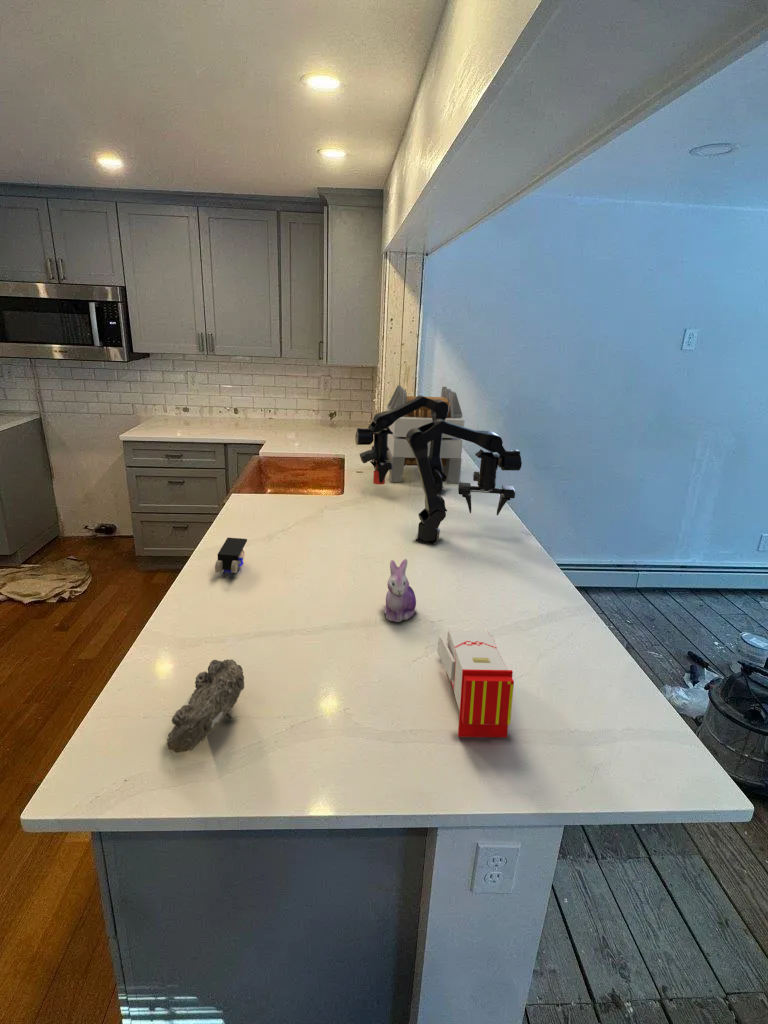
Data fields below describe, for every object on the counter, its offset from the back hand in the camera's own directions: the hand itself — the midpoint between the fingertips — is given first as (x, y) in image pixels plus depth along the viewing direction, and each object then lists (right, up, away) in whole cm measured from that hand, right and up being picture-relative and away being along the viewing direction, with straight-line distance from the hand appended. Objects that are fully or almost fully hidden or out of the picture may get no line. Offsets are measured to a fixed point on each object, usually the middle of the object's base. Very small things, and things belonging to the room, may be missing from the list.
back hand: (379, 480), depth 239 cm
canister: (0, -1, 0) cm, 1 cm away
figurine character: (-43, -30, -71) cm, 89 cm away
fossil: (-31, -52, -131) cm, 144 cm away
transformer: (+19, +6, +36) cm, 41 cm away
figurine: (+6, -40, -92) cm, 100 cm away
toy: (+20, -51, -120) cm, 132 cm away
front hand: (+36, -14, -44) cm, 59 cm away
